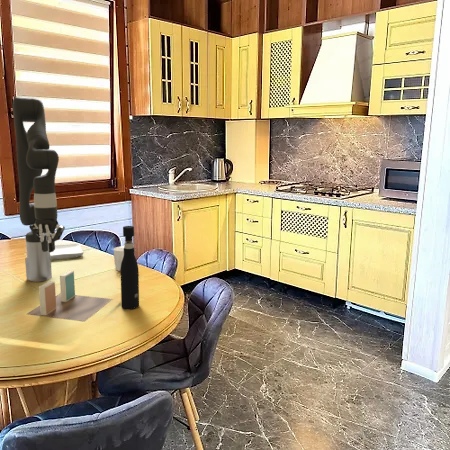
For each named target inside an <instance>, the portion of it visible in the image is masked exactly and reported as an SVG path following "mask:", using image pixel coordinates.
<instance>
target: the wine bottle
mask: <svg viewBox="0 0 450 450" xmlns="http://www.w3.org/2000/svg"><path fill="white" fill-rule="evenodd" d="M122 237H124V243H123V246H124V247H125V248H124V256H123V259H122V263H121V269H120V271H119V272H120V298H121V300H120V303H121V309H123V310H126V311H127V310H130V311H131V310H136V309H138V308H140V307H139V306H140V285H139V283H140V280H139V279H140V277H139V276H140V275H139V264H138V262H137V259H136V256H135V247H134V246H135V245H134V242H133V237H135V227H134V226H133V225H125V226H123V227H122Z"/></svg>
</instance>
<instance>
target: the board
mask: <svg viewBox="0 0 450 450" xmlns="http://www.w3.org/2000/svg"><path fill="white" fill-rule="evenodd" d="M111 301H113V299H112V298H107V297H106V298H105V297H97V296H89V295H88V296H87V295H78V294H75V297H73V298H72V299H70V300H68V301H67V302H62V301H61V292H60V293H58V294H57V295H56V309H55V310H53V311H52V312H50V313H49V314H47V315H41V311H40V305H39V306H37V307H35V308H33V309H32V310H30V311H29V312H27V313H26V315H30V316H37V317H44V318H51V319H53V318H54V319H60V320H61V319H63V320H69V321H77V322H86V321H87V320H88V319H90V318H91V317H92V316H94V315H95V314H97V312H99V311H100V310H101V309H102V308H104V307H106V305H107V304H108V303H110V302H111Z"/></svg>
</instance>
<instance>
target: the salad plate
mask: <svg viewBox="0 0 450 450" xmlns="http://www.w3.org/2000/svg"><path fill="white" fill-rule="evenodd" d="M83 254H84V250H83V249H82V246H81V244H80V243H67V244H66V243H65V244H55V250H54V251H53V252H50V255H51V261H53V260H64V259H74V258H77V257H80V256H82V255H83Z"/></svg>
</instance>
